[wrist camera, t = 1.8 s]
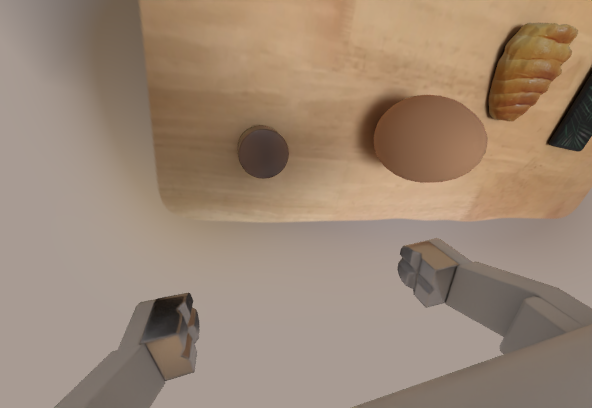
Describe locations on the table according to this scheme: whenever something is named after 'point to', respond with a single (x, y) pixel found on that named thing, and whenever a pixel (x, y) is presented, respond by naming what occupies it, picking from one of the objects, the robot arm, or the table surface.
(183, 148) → the table surface
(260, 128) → the brown bottle cap
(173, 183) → the table surface
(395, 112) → the egg
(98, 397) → the robot arm
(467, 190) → the table surface
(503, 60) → the pastry
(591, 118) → the smartphone
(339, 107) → the table surface
